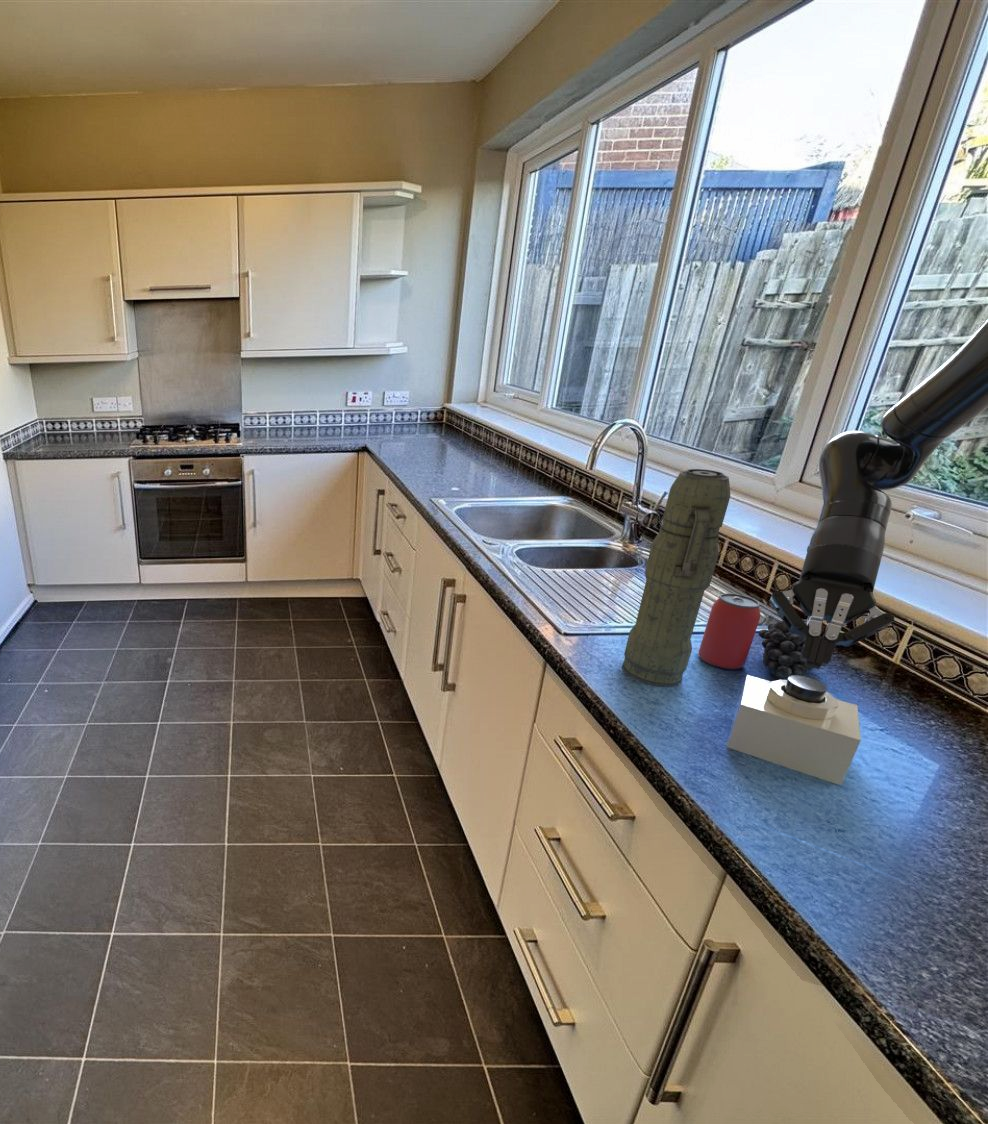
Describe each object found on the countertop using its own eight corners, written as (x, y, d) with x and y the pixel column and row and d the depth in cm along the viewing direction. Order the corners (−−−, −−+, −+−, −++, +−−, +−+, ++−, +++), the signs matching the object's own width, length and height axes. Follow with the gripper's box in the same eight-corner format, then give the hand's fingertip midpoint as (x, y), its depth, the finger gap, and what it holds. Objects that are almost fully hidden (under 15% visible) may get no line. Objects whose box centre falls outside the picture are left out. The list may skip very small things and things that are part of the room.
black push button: (821, 695, 84) (827, 682, 83) (822, 708, 81) (827, 694, 80) (783, 684, 86) (788, 671, 85) (782, 696, 83) (787, 684, 83)
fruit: (813, 643, 96) (822, 611, 105) (745, 641, 102) (759, 611, 112) (819, 695, 97) (827, 658, 107) (752, 690, 103) (765, 655, 113)
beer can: (738, 656, 110) (757, 595, 106) (748, 674, 105) (769, 611, 100) (693, 649, 113) (711, 589, 108) (701, 666, 107) (720, 604, 103)
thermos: (670, 660, 109) (724, 465, 96) (692, 696, 99) (756, 483, 86) (614, 652, 112) (659, 462, 99) (629, 686, 102) (682, 479, 89)
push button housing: (839, 748, 86) (862, 693, 83) (841, 786, 80) (866, 728, 76) (733, 715, 94) (750, 664, 91) (726, 747, 87) (744, 693, 84)
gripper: (786, 533, 88) (754, 640, 84) (919, 554, 80) (891, 674, 76) (777, 557, 93) (746, 659, 89) (900, 579, 85) (873, 692, 81)
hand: (813, 665), depth 82 cm, fingers closed
